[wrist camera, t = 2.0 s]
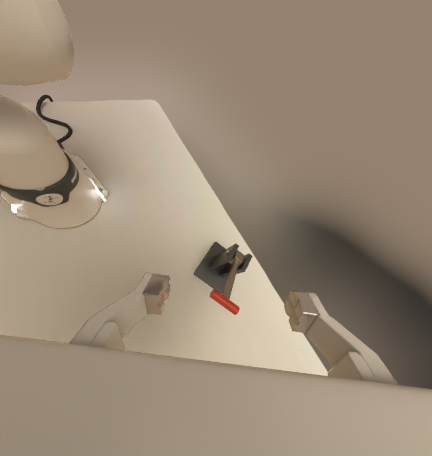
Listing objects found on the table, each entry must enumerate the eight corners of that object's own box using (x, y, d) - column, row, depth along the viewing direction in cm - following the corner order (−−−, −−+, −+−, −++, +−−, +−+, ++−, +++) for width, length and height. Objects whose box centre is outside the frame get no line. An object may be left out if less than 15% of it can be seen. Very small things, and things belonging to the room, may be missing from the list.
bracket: (221, 294, 46) (246, 294, 33) (193, 274, 45) (208, 266, 32) (238, 260, 52) (266, 249, 39) (214, 242, 51) (234, 225, 38)
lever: (231, 317, 27) (240, 312, 26) (207, 299, 27) (214, 293, 26) (243, 264, 39) (249, 259, 38) (226, 251, 39) (231, 245, 38)
